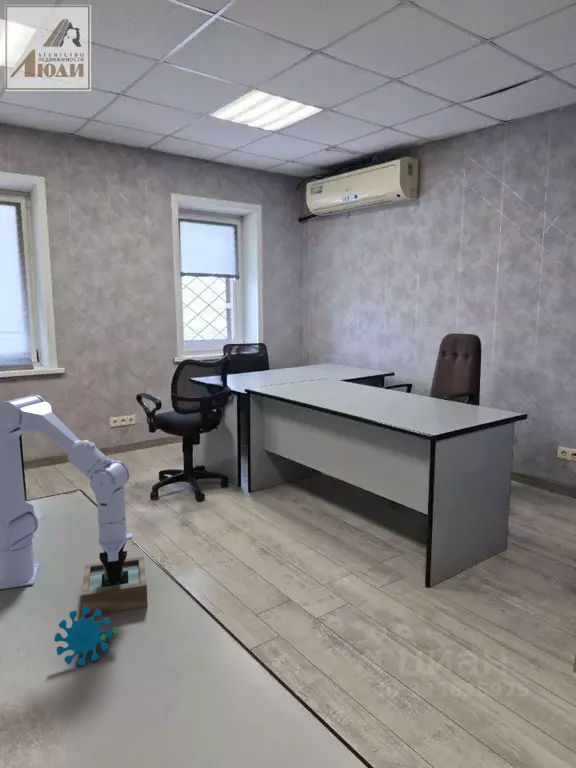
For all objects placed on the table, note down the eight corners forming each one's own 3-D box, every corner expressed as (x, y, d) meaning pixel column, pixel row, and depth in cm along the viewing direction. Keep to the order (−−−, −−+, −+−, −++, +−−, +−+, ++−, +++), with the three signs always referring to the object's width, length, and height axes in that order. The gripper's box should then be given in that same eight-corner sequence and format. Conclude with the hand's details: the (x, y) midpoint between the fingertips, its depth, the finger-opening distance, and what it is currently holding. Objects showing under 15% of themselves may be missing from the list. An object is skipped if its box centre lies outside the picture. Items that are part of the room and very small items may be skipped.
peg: (105, 585, 116) (102, 556, 115) (123, 581, 118) (121, 552, 116) (105, 594, 112) (103, 564, 111) (124, 590, 114) (122, 561, 113)
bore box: (86, 585, 119) (85, 564, 119) (144, 576, 123) (143, 556, 123) (82, 617, 107) (81, 595, 106) (147, 606, 111) (146, 585, 110)
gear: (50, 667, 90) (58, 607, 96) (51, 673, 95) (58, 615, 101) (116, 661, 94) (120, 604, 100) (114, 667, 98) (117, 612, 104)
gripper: (132, 529, 107) (134, 590, 109) (130, 503, 120) (132, 558, 123) (95, 534, 105) (99, 596, 107) (98, 507, 118) (101, 562, 120)
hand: (114, 576), depth 115 cm, fingers open, 4 cm apart
